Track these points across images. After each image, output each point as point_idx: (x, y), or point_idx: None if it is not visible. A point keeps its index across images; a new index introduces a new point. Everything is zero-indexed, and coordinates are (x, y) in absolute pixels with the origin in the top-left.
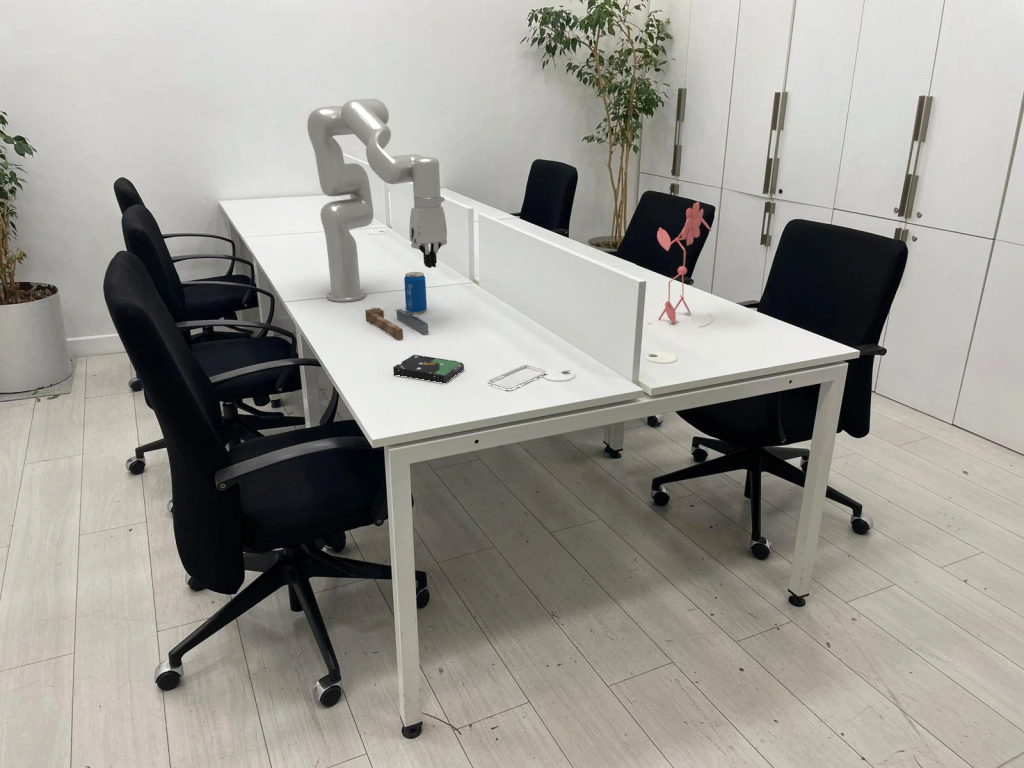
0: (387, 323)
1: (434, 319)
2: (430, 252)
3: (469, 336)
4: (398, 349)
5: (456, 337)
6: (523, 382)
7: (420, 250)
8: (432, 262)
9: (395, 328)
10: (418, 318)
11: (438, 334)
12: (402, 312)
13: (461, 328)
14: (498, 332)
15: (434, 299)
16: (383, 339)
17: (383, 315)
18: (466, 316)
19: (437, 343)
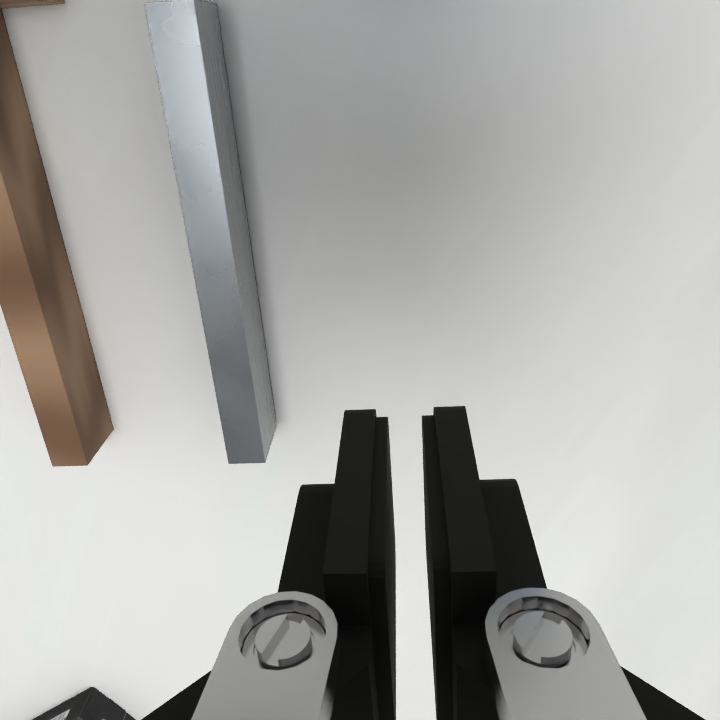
0: (11, 316)
1: (443, 162)
2: (451, 647)
3: None
4: (57, 542)
5: None
6: None
7: (173, 704)
8: (428, 570)
9: (47, 434)
10: (243, 340)
11: (328, 453)
12: (173, 124)
13: (499, 428)
14: (631, 575)
15: None
16: (2, 376)
17: (33, 1)
18: (685, 221)
19: (266, 562)
